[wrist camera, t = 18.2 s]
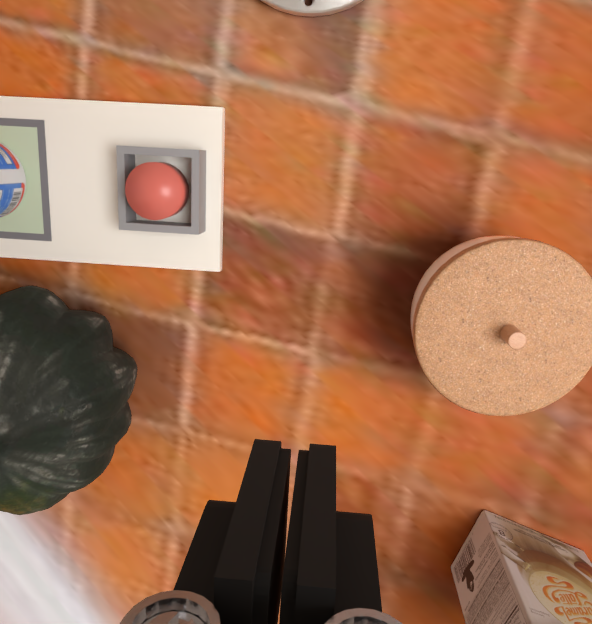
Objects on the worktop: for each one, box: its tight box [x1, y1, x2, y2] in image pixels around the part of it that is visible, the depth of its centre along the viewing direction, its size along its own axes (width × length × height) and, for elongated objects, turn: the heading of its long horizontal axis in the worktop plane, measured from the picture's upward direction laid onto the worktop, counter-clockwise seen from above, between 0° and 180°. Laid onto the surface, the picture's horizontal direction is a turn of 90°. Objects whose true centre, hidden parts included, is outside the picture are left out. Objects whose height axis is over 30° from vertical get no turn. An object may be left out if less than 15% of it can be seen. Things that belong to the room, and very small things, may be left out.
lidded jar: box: [411, 236, 592, 416], centre depth 35 cm, size 11×11×9 cm
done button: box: [125, 162, 189, 220], centre depth 36 cm, size 4×4×2 cm
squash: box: [0, 286, 137, 515], centre depth 37 cm, size 14×15×15 cm
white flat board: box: [0, 96, 225, 272], centre depth 38 cm, size 11×21×3 cm, turn 87°
